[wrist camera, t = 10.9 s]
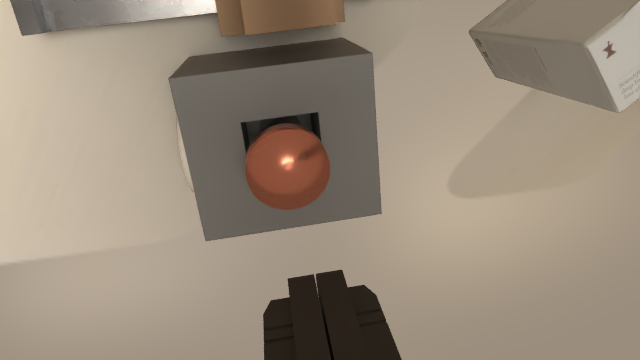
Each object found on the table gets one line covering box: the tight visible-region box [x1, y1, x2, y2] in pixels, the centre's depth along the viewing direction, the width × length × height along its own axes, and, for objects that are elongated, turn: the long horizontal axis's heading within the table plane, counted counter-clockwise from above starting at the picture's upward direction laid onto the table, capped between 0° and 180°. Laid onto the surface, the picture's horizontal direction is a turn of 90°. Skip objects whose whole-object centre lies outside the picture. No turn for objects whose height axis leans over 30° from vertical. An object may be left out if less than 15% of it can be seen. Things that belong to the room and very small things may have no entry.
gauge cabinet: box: [169, 38, 381, 241], centre depth 28 cm, size 10×9×8 cm
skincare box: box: [469, 0, 640, 113], centre depth 26 cm, size 6×4×12 cm
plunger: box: [245, 115, 330, 210], centre depth 25 cm, size 4×4×7 cm
